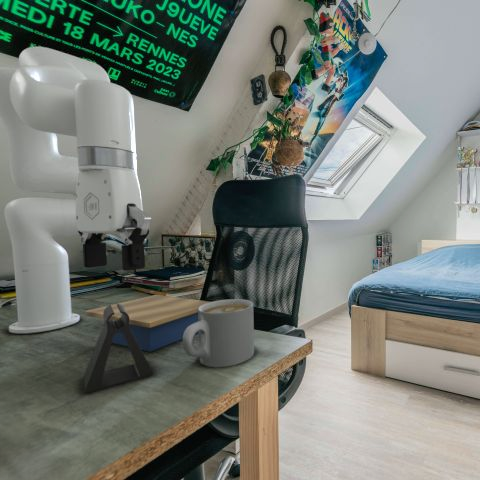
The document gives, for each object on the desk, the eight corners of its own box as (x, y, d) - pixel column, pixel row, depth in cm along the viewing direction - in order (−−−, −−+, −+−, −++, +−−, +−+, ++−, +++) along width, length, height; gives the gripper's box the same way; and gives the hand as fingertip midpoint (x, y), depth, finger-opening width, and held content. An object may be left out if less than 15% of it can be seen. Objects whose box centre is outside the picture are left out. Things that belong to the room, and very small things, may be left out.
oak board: (85, 315, 69) (85, 311, 69) (156, 298, 83) (156, 294, 83) (149, 328, 61) (149, 322, 61) (215, 306, 76) (215, 302, 76)
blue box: (106, 341, 70) (104, 314, 69) (158, 324, 81) (157, 301, 80) (150, 351, 65) (149, 322, 64) (199, 332, 76) (199, 307, 75)
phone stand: (84, 394, 49) (80, 317, 48) (83, 379, 54) (79, 309, 53) (153, 375, 55) (150, 306, 54) (147, 363, 60) (144, 299, 59)
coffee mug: (239, 341, 70) (238, 296, 69) (263, 355, 63) (262, 305, 63) (172, 361, 60) (170, 309, 60) (191, 379, 54) (189, 321, 53)
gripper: (48, 163, 52) (55, 268, 53) (118, 155, 45) (125, 274, 46) (100, 170, 59) (106, 262, 60) (167, 163, 52) (172, 267, 53)
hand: (114, 267), depth 53 cm, fingers open, 9 cm apart
